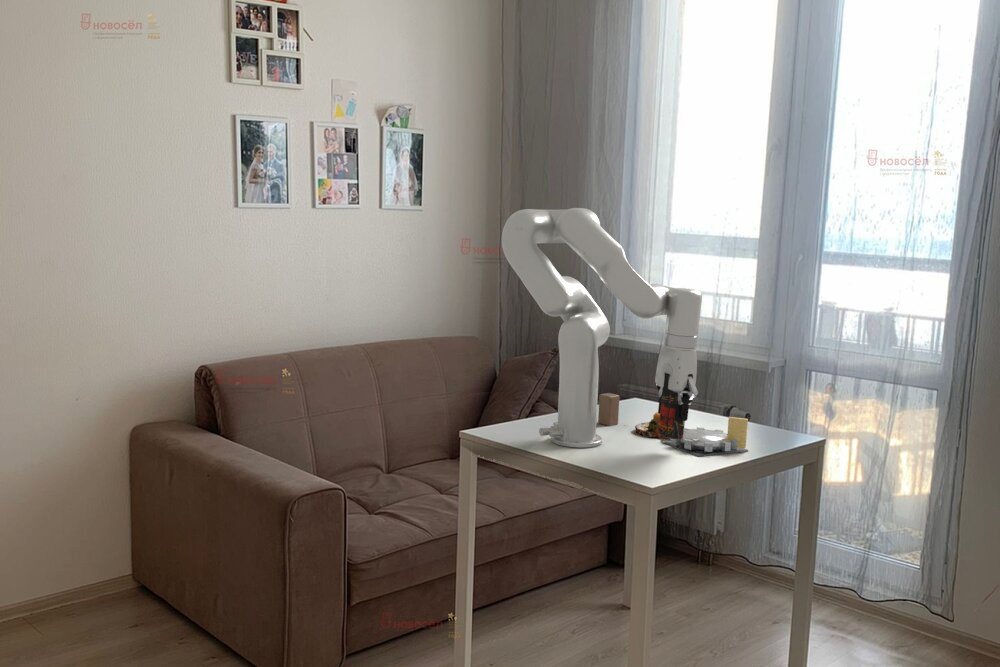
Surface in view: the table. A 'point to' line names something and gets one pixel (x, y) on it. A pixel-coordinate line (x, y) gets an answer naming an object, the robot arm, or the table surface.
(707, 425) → the table surface
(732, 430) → the sprocket
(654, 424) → the burger
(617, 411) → the wooden block
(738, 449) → the plate
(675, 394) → the deodorant
